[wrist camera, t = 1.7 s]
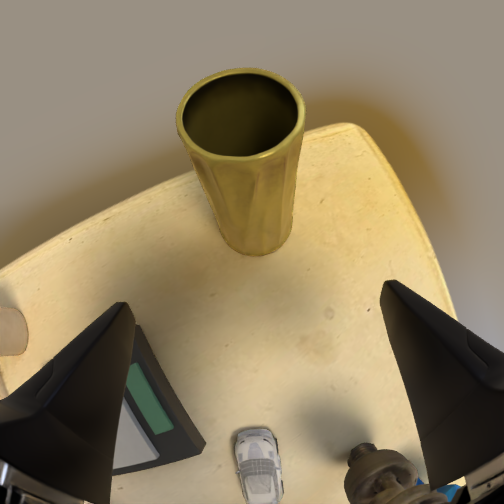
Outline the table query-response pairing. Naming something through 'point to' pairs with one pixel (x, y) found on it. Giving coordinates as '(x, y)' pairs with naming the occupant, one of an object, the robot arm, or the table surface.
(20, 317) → the candle
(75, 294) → the table surface
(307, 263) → the table surface
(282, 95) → the vase
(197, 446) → the scale
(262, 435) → the toy car
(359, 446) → the light bulb
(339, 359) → the table surface
